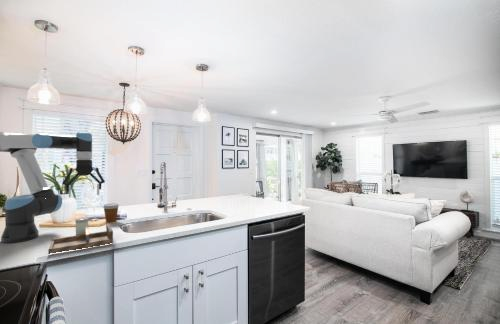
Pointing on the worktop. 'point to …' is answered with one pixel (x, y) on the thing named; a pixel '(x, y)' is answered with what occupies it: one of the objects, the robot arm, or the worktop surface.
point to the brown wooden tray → (81, 241)
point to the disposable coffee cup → (111, 212)
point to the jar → (81, 225)
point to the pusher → (87, 234)
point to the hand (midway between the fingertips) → (84, 196)
